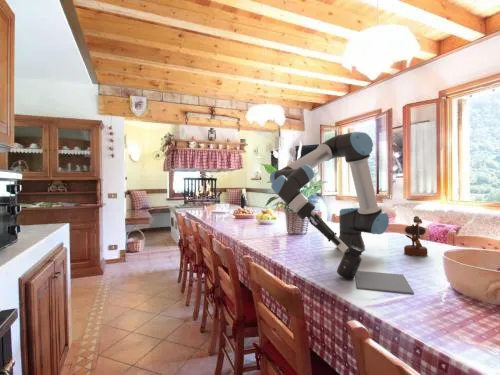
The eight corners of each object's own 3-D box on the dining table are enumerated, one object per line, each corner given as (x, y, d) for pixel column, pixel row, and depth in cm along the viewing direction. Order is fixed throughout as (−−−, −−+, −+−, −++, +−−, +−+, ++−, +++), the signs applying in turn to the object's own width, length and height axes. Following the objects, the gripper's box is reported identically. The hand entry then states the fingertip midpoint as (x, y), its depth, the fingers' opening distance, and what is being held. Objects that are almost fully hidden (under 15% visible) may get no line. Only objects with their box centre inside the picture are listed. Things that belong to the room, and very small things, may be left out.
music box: (435, 257, 143) (431, 217, 142) (412, 259, 143) (409, 219, 143) (418, 249, 158) (414, 213, 157) (397, 251, 158) (394, 215, 158)
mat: (357, 288, 103) (357, 287, 103) (355, 271, 122) (355, 270, 122) (414, 294, 97) (414, 292, 97) (402, 275, 116) (402, 274, 116)
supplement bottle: (332, 270, 114) (344, 242, 113) (343, 271, 118) (355, 244, 116) (345, 280, 109) (357, 251, 107) (356, 280, 112) (369, 253, 110)
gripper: (298, 211, 125) (339, 252, 120) (292, 214, 113) (337, 260, 107) (310, 199, 123) (352, 240, 118) (306, 201, 111) (353, 247, 105)
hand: (345, 250), depth 112 cm, fingers closed
